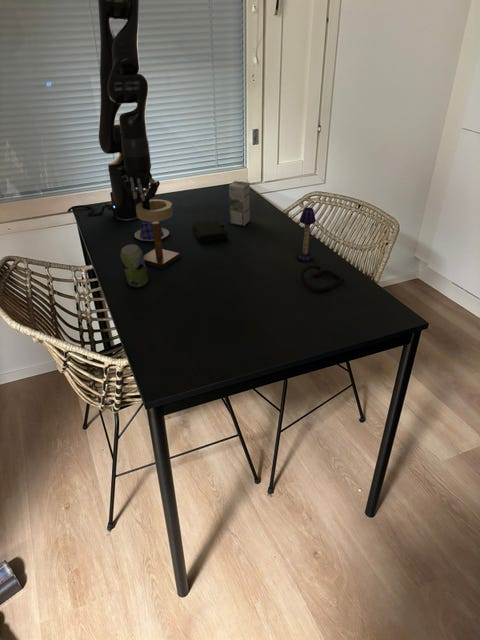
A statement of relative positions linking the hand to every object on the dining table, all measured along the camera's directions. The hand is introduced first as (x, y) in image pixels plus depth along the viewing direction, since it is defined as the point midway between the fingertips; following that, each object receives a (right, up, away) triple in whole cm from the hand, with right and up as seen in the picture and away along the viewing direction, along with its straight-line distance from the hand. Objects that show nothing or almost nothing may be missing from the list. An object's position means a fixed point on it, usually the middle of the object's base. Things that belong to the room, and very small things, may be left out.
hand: (143, 210), depth 150 cm
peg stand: (+4, -14, +7) cm, 16 cm away
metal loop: (+52, -23, -7) cm, 57 cm away
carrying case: (+19, -4, +22) cm, 30 cm away
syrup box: (+29, +3, +32) cm, 44 cm away
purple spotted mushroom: (+50, -14, +6) cm, 52 cm away
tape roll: (+4, -2, -2) cm, 4 cm away
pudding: (-1, -4, +23) cm, 23 cm away
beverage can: (0, -23, -7) cm, 24 cm away
